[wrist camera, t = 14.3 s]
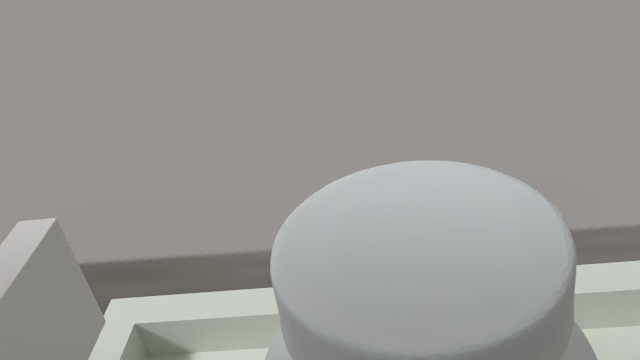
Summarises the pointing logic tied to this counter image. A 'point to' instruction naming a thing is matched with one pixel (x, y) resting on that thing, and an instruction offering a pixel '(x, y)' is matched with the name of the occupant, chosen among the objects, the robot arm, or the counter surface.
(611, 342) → the tray
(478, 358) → the supplement bottle
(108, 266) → the counter surface
